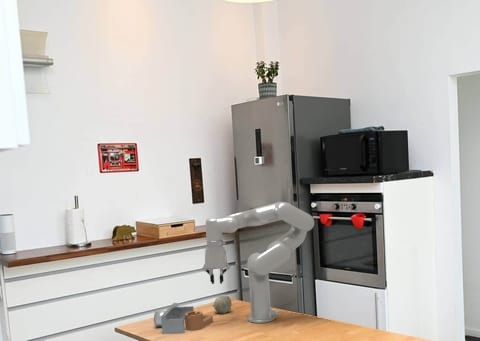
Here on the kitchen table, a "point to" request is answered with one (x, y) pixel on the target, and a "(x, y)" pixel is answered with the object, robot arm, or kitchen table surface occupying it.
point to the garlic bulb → (222, 304)
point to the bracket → (197, 320)
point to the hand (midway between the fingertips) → (217, 283)
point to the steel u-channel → (172, 318)
